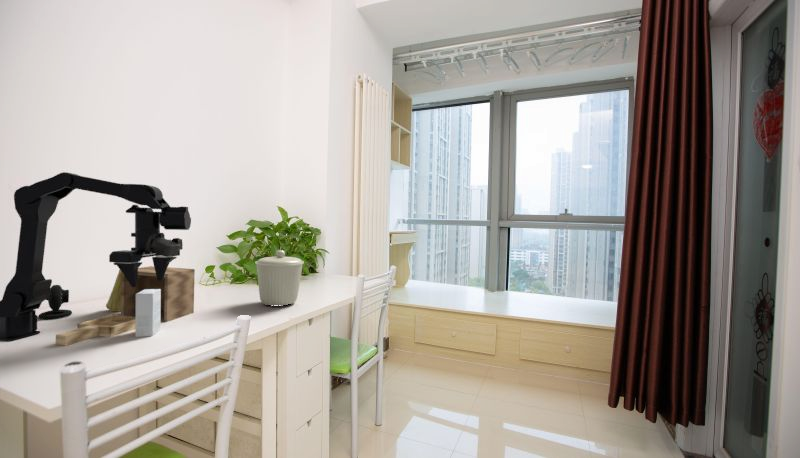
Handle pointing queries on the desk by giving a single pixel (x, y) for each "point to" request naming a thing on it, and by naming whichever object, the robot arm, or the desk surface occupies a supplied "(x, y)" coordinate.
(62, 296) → the webcam
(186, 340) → the desk surface
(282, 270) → the canister
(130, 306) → the wooden open box
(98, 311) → the desk surface
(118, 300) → the vase
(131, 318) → the wooden tray with handle
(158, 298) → the skincare box
